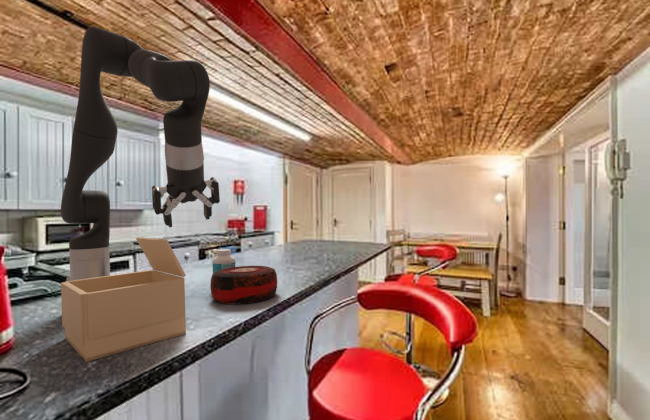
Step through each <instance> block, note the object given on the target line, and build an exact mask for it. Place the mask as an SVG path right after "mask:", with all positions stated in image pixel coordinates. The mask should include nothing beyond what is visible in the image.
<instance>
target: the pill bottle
mask: <svg viewBox="0 0 650 420" xmlns="http://www.w3.org/2000/svg"><path fill="white" fill-rule="evenodd" d="M231 254H232V249H229V248H228V249H227V248H226V249H225V248H223V249H217V250H216V256H215V257H214V258H213V259H212V274H213V273H214V272H216V271H218V270H221V269H225V268H231V267H236V258H235V257H234V256H233V255H231Z"/></svg>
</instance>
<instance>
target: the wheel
mask: <svg viewBox="0 0 650 420" xmlns="http://www.w3.org/2000/svg"><path fill="white" fill-rule="evenodd" d="M277 289H278V275H277V271H276V269H275V268H273V267H270V266H267V265H243V266H242V265H240V266H235V267H231V268H225V269H221V270H218V271H216V272H214V273H213V272H212V275H211V277H210V293H211V297H212V298H213V301H215V302H216V303H217V302H218V303H220V304H225V305H246V304H247V305H248V304H254V303H259V302H264V301H266V300H269V299H271V298H272V297H275V296H276V293H277Z"/></svg>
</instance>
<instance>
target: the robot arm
mask: <svg viewBox="0 0 650 420" xmlns="http://www.w3.org/2000/svg"><path fill="white" fill-rule="evenodd" d="M82 38H83V39H82V45H81V57H80V58H81V59H80V76H79V92H78V99H77V105H76V112H75V118H74V121H73V123H74V124H73V130H72V136H71V146H70V158H69V164H68V171H67V174H66V175H67V176H66V180H65V185H64V187H63V191H62V192H63V193H62V197H61V202H60V215H61V219H62V221H63V222H65V224H71V225H73V224H75V225H79V224H80V225H81V224H93V225H92V227H91V228H90V229H89V230H88V231H86V232H84V233H83V234H80V235H77V236H74V237H71V238H70V240H69V242H68V249H69V252H68V253H69V254H68V255H69V256H68V257H69V276H67V277H66V280H65V281H73V280H81V279H88V278H96V277H103V276H110V275H111V268H110V267H111V265H110V263H111V262H110V261H111V258H110V235H111V234H110V229H111V227H110V223H111V221H110V220H111V200H110V196H109V194H108V193H107V192H106V191H104V190H90V189H89V190H84V187H85V186H86V183H87V181H88V180H89V178H90V177H92V175H93V174H94V173H95V172H96V171H97V170H98V169H100V168H101V167H102V166H103V165H104V164H105V163H106V162H107V161H108V160H109V159H110V158H111V157H112V156H113V154H114V152H115V147H116V143H117V142H116V141H117V138H118V137H117V136H118V125H117V122H116V119H115V117H114V116H113V113H112V111H111V109H110V107H109V106H108V104H107V102H106V99H105V96H104V94H103V92H102V88H101V87H102V86H101V73H104V74H110V75H113V76H119V77H124V78H125V77H127V78H134V79H135V80H136V82H138V83H140V84H142V85H144V86H146V87H148V88H149V89H150V91H151V92H152V94H153V96H154V97H155V98H156V99H157V100H159V101H162V102H166V103H167V102H168V103H172V102H180V101H181V104H180V105H179V106H177V107H175V108H173V109H170V110H168V111H166V113H164V115H163V118H162V122H163V123H162V125H163V134H164V159H165V168H166V169H165V170H166V179H167V184H166V185H165V186H159V187H158V186H157V185H152V186H151V197H152V198H151V199H152V202H151V203H152V209H153V211H154V213H155V214H156V215H162V216H163V222H164V224H165V226H167V227H168V228H172V227H173V219H172V211H173V210H174V209H176V208H177V207H178V206H179V204H180V203H181V204H186V203H188V202H189V203H190V202H192V203H193V202H196V201H197V200H198V201H200V202H201V203H202V204H203V216H204V218H205V220H207V221H208V220H210V218H211V217H212V215H213V208H212V207H213V205H215V204H219V203H220V202H221V200H220V199H221V197H220V185H219V182H218V180H217V179H216V178H215V177H214V176H212V177H210V179H209V180H205V166H204V164H205V163H204V160H205V155H204V147H203V141H202V140H203V139H202V134H203V133H202V121H203V118H204V117H203V116H204V113H205V109H206V105H207V103H208V102H207V101H208V98H209V94H210V90H211V89H210V88H211V87H210V85H211V84H210V83H211V81H210V77H209V73H208V71H207V69H206V67H205V66H204V65H203V64H202V63H201V62H199V61H197V60H193V59H192V60H189V59H188V60H186V59H185V60H172V59H171V58H170V57H168V56H167V55H164V54H162V53H160V52H156V51H153V50H150V49H146V48H145V49H144V48H143V47H142V46H141V45H140V44H138V43H137V42H136V41H134V40H132V39H130V38H129V37H127V36H124V35H121V34H119V33H115V32H113V31H109V30H107V29H103V28H101V27H96V26H89V27H88V28H87V29H86V31H84V35H83V37H82ZM207 187H208V188H209V190H210V195H211V196H210V197H208V196H207V195H206V194H205V193H204V191H205V190H206V188H207ZM165 194H168V195H167V197H166V198H165V199H166V200H165V202H164V203H163V204H162V199H163V197H164V196H165Z"/></svg>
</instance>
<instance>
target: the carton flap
mask: <svg viewBox="0 0 650 420" xmlns="http://www.w3.org/2000/svg"><path fill="white" fill-rule="evenodd" d="M135 239H136V241H137V244H138V245H139V247H140V248H141V250H142V252H143V254H144V256H145V257H146V260H147V261H148V263H149V265H150V267H151V268H152V270H155V271H159V272H163V273H167V274H171V275H175V276H179V277H183V278H185V277H186V276H187V275H186V273H185V271H184V269H183V267H182V265H181V263H180V262H179V260H178V257H177V256H176V254H175V252H174V250H173V248H172V246H171V244H170V243H169V241H168V239H165V238H156V237H155V238H154V237H153V238H152V237H141V236H140V237H136V238H135Z"/></svg>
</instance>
